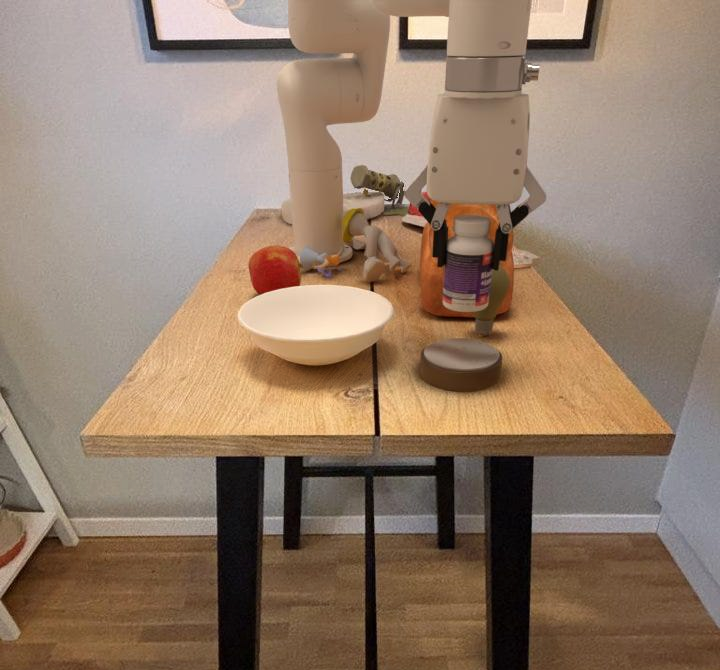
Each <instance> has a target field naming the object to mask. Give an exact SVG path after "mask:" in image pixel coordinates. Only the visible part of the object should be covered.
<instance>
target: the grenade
mask: <svg viewBox="0 0 720 670" xmlns="http://www.w3.org/2000/svg"><path fill="white" fill-rule="evenodd" d="M399 179H400V178H399V177H398V175H397V174H394V173H390V174H384V173H382V172H377V171H375V170H371V169H368V167H367V165H365V164H360V165H356V166H354V167H353V169H352V171H351V174H350V183H351V185H352V187H353V189H356V188H357V189H361V188H362V189H364V191H363V194H364V195H365V196H368V197H370V196H369V195H367V194H368V190H366V189H371V190H375V191H379V192H381V193H382V194H384V197H387V198H388V197H389V198H391V199H388V200H386V199H387V198H384V202H389V203H391V207H392V208H393V209H397V207H398V205H402V204H403V200H404V198H405V196H404V192H405V191H406V190H404V191H403V187H404V183H403V182H402V181H403V180H402V181H401V182H400V180H399ZM399 190H400V193H399ZM398 193H399V198H398V197H397V196H398ZM396 200H397V201H396Z"/></svg>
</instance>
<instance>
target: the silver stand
mask: <svg viewBox="0 0 720 670" xmlns="http://www.w3.org/2000/svg"><path fill="white" fill-rule="evenodd" d="M419 358H420V359H419V375H420V377H421V378H422V380H423V381H424V382H426V383H427V384H428V385H430V386H433V387H435V388H439V389H441V390H446V391H452V392H477V391H482V390H486V389H489V388H491V387H493V386H495V385H496V384H497V383H498V382H499V381H500V380H501V376H502V367H503V360H504V359H503V358H504V356H503V353H502V352H501V351H500V350H499V349H497V348H496V347H495V346H494V345H492V344H490V343H488V342H485V341H483V340H479V339H474V338H466V337H453V338H450V337H449V338H444V339H439V340H435V341H432V342H431V343H429V344H428V345H426V346H425V347H423V348H422V350H421V351H420V357H419Z"/></svg>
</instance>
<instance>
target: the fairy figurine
mask: <svg viewBox="0 0 720 670" xmlns="http://www.w3.org/2000/svg"><path fill="white" fill-rule="evenodd" d="M341 252H342V249H341V248H340V251H339V253H338V254H337V255H332V256H331V255H330V254H327V253H323V254H322V255H319V254H318V253H317V252H315V251H314V250H312V249H310V248H309V247H307V246H305V247H304V248H303V249H302V251H301V254H300V258H299V259H298V260H299V264H300V267H301V268H302V270H303V271H304V272H309V271H310V270H312V269H313V270H315V269H317V272H318V273H322V274H323V275H324V276H325V277H326V278H328V279H330V278H331V276H332V268H334V269H336V270H338V271H342V270H343V269H341V268H338V267H336V266H338V265H339V264H340V257H339V255H340V253H341ZM328 255H330V257H329V256H328ZM319 262H321V265H317V264H318V263H319ZM322 263H323V264H322ZM328 267H329V268H330V269H327V268H328ZM325 270H327V272H326V271H325Z"/></svg>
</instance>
